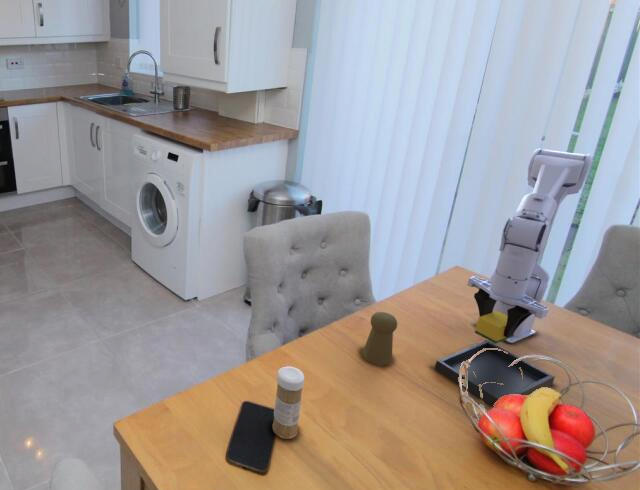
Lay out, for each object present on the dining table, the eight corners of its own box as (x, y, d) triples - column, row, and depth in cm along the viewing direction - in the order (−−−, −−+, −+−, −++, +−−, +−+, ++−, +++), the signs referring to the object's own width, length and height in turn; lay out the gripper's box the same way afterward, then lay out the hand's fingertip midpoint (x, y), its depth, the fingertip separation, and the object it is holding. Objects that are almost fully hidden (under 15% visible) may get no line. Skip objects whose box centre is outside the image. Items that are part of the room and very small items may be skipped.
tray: (484, 347, 111) (486, 339, 110) (551, 385, 99) (555, 376, 98) (434, 368, 105) (436, 360, 104) (500, 411, 93) (503, 402, 92)
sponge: (492, 325, 107) (496, 310, 105) (513, 336, 103) (518, 320, 102) (474, 332, 105) (478, 317, 103) (495, 344, 101) (500, 328, 100)
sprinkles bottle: (285, 418, 93) (291, 362, 88) (302, 434, 89) (310, 377, 84) (266, 426, 91) (272, 370, 86) (283, 444, 88) (290, 385, 82)
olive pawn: (385, 348, 111) (393, 308, 107) (396, 366, 106) (405, 324, 102) (358, 347, 112) (365, 307, 108) (367, 365, 106) (375, 323, 102)
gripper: (464, 262, 103) (450, 316, 108) (540, 294, 91) (520, 353, 96) (485, 256, 106) (471, 308, 111) (562, 286, 93) (542, 344, 98)
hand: (495, 328), depth 103 cm, fingers closed on sponge, 4 cm apart
